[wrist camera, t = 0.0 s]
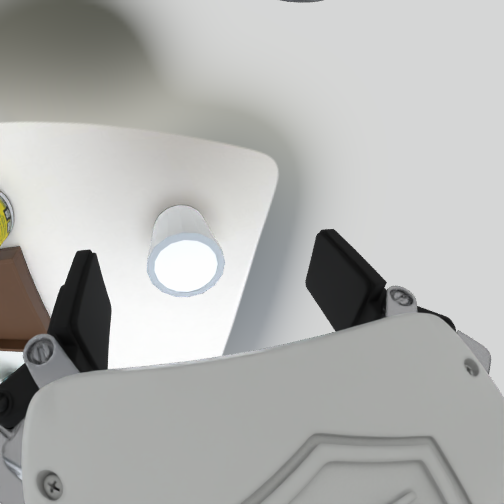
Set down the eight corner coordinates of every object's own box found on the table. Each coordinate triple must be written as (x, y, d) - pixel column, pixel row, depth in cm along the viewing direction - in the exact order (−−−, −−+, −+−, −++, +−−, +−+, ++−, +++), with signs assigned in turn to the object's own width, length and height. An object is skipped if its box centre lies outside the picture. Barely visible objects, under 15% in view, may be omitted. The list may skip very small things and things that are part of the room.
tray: (-47, 256, 19) (-55, 267, 17) (19, 246, 23) (12, 258, 21) (-3, 338, 28) (-7, 350, 26) (62, 339, 32) (59, 352, 30)
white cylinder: (144, 202, 26) (140, 237, 20) (211, 196, 28) (225, 228, 22) (152, 259, 30) (153, 302, 24) (212, 252, 32) (225, 292, 26)
